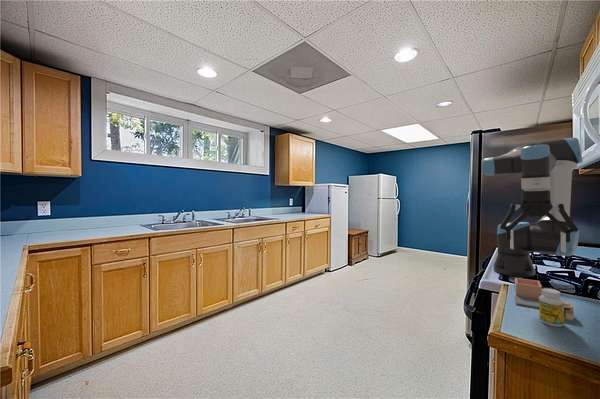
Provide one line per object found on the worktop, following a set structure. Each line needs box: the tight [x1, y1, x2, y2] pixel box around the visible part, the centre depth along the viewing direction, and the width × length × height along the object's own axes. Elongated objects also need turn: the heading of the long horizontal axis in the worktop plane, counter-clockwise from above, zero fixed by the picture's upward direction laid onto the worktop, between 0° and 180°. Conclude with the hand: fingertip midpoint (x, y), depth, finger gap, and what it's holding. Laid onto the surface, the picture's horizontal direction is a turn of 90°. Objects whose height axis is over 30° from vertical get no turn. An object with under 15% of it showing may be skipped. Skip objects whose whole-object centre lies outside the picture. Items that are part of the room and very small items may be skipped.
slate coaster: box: [514, 295, 539, 310], centre depth 91 cm, size 7×7×1 cm
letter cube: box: [563, 300, 574, 321], centre depth 81 cm, size 4×4×4 cm
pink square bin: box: [514, 277, 543, 300], centre depth 97 cm, size 7×7×5 cm
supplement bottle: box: [538, 287, 565, 328], centre depth 78 cm, size 5×5×10 cm
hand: (536, 250), depth 93 cm, fingers open, 13 cm apart
